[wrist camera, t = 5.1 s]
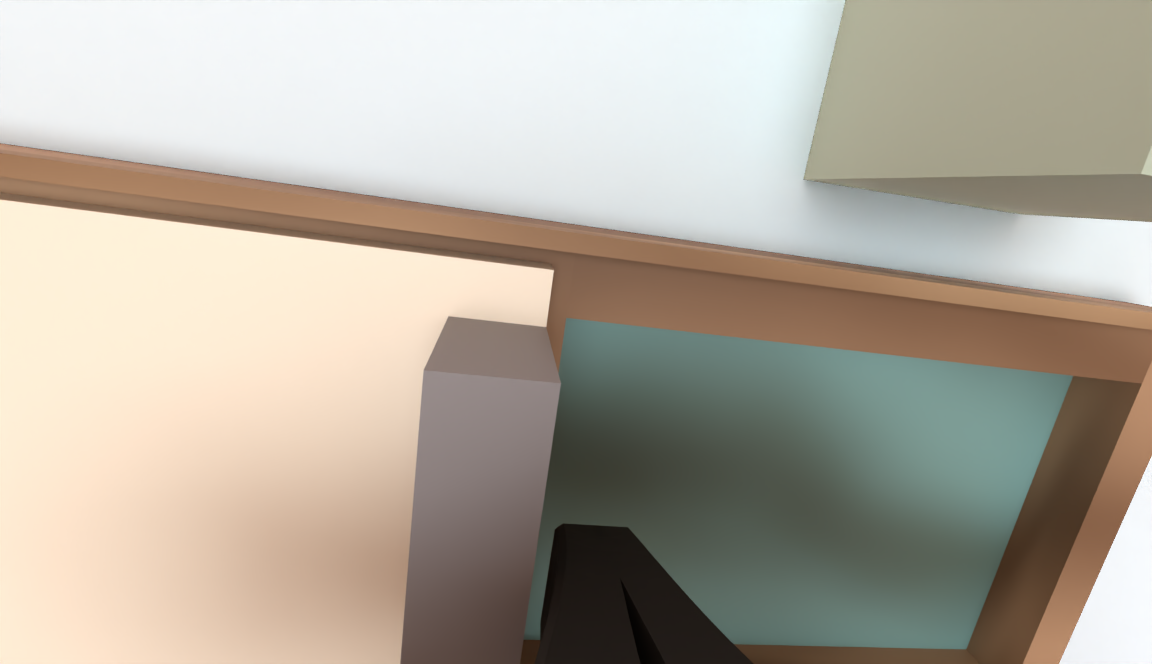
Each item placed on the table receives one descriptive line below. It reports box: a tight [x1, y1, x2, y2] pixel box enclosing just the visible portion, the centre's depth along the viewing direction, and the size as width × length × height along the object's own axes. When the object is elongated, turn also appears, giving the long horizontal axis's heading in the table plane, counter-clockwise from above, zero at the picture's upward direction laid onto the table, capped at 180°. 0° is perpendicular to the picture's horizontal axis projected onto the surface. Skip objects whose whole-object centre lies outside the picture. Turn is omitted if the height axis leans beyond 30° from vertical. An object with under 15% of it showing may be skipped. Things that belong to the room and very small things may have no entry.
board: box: [0, 143, 1152, 664], centre depth 10 cm, size 11×27×2 cm, turn 82°
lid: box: [0, 193, 561, 664], centre depth 8 cm, size 10×13×3 cm
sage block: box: [804, 0, 1152, 222], centre depth 8 cm, size 5×5×6 cm
